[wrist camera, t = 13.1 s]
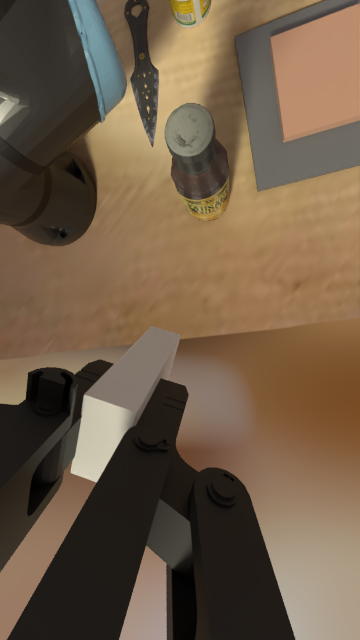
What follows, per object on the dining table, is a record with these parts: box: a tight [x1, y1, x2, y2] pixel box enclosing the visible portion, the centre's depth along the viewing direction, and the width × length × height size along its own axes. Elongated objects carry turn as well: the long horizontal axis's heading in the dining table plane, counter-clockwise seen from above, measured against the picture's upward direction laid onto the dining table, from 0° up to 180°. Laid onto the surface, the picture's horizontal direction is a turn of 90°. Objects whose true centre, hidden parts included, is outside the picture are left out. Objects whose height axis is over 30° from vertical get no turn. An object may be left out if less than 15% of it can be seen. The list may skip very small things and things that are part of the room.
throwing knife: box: [125, 0, 159, 147], centre depth 40 cm, size 4×20×1 cm, turn 7°
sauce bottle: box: [165, 103, 229, 221], centre depth 32 cm, size 7×6×20 cm
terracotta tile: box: [269, 4, 360, 143], centre depth 35 cm, size 2×10×12 cm
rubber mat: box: [235, 0, 360, 192], centre depth 36 cm, size 20×18×1 cm
